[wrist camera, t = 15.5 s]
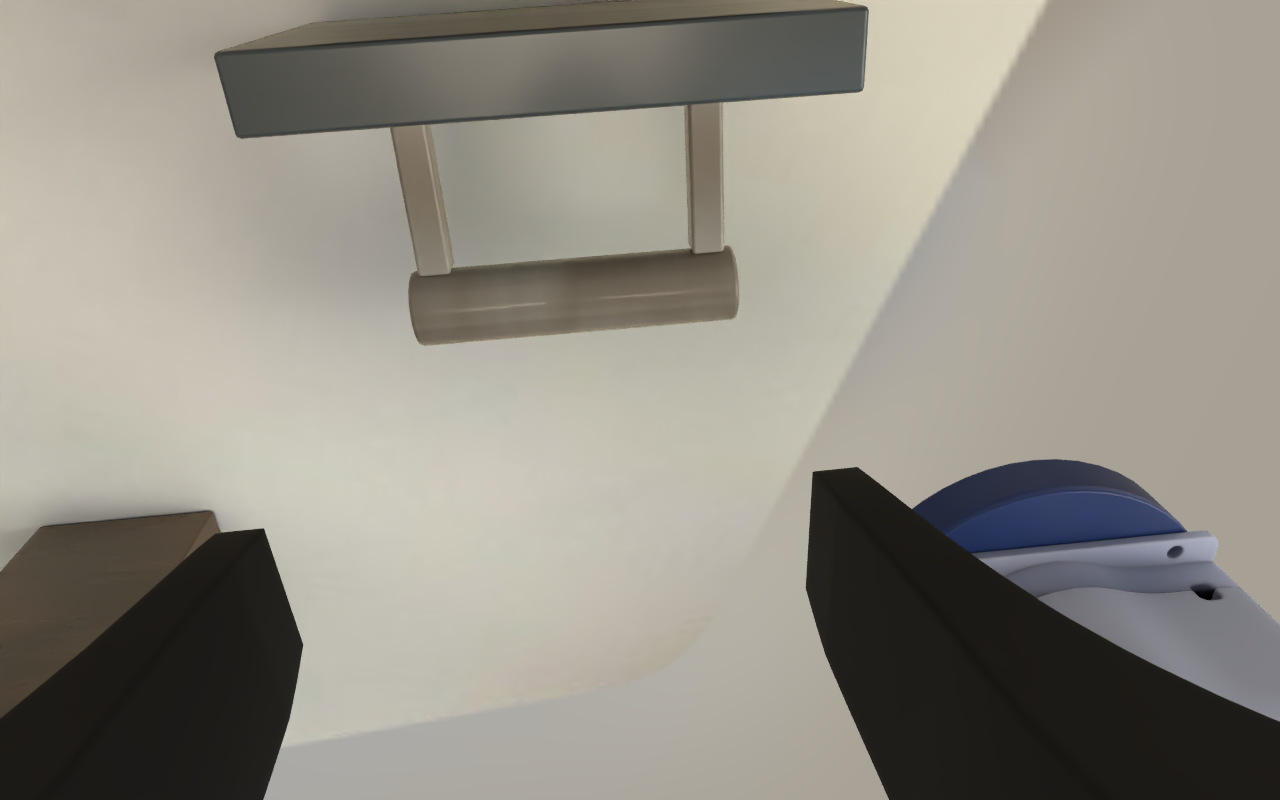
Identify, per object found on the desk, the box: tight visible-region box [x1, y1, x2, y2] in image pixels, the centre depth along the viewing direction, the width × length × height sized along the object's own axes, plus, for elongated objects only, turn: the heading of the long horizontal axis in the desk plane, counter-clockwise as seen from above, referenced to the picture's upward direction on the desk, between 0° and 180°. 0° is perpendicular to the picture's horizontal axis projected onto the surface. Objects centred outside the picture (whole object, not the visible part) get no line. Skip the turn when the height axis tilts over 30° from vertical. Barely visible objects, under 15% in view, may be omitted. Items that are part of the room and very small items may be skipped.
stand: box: [0, 511, 220, 718], centre depth 20 cm, size 4×4×8 cm
